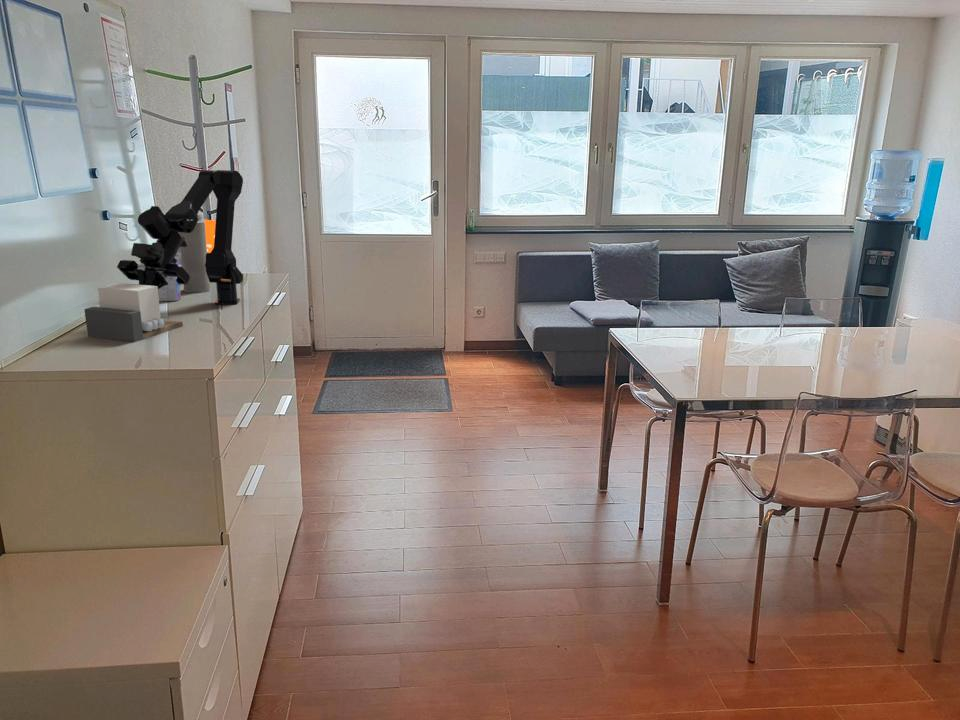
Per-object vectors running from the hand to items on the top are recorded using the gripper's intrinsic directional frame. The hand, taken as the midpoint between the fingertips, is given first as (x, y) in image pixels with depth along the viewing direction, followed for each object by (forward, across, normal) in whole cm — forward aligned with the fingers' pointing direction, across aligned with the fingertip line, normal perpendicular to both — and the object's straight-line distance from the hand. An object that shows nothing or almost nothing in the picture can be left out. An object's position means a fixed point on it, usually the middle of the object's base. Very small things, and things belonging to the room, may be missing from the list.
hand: (140, 298), depth 193 cm
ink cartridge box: (-17, -20, +29) cm, 39 cm away
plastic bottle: (-36, -34, +48) cm, 69 cm away
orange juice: (-47, -31, +59) cm, 82 cm away
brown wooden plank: (+7, 0, +4) cm, 8 cm away
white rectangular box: (+7, 0, +2) cm, 8 cm away
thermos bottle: (-29, -20, +41) cm, 54 cm away
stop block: (+13, 0, -1) cm, 13 cm away
